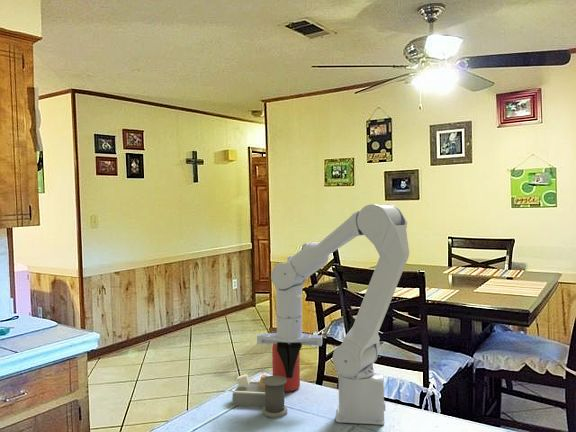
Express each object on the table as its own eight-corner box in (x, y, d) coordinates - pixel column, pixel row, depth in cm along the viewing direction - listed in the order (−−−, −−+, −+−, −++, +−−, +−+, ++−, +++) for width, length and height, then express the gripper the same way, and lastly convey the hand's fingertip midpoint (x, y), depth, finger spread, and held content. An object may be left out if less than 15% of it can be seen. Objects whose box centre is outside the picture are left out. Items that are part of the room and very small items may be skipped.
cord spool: (289, 408, 106) (288, 376, 106) (285, 418, 101) (284, 384, 101) (265, 407, 107) (264, 375, 107) (260, 417, 102) (259, 383, 101)
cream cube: (250, 382, 112) (247, 373, 113) (248, 384, 111) (245, 376, 111) (241, 384, 113) (238, 376, 113) (239, 387, 111) (236, 378, 111)
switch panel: (275, 393, 115) (275, 381, 115) (268, 406, 107) (268, 393, 107) (241, 391, 116) (241, 380, 116) (232, 404, 108) (232, 392, 108)
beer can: (267, 390, 117) (267, 339, 117) (280, 381, 123) (280, 333, 123) (292, 394, 114) (291, 342, 114) (304, 385, 120) (304, 336, 120)
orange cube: (269, 385, 112) (271, 377, 112) (267, 388, 110) (270, 380, 110) (260, 382, 112) (262, 374, 112) (258, 385, 111) (261, 376, 110)
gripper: (323, 312, 113) (323, 371, 113) (261, 311, 115) (262, 369, 115) (320, 319, 106) (320, 382, 106) (254, 317, 108) (255, 379, 108)
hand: (289, 376), depth 110 cm, fingers closed
